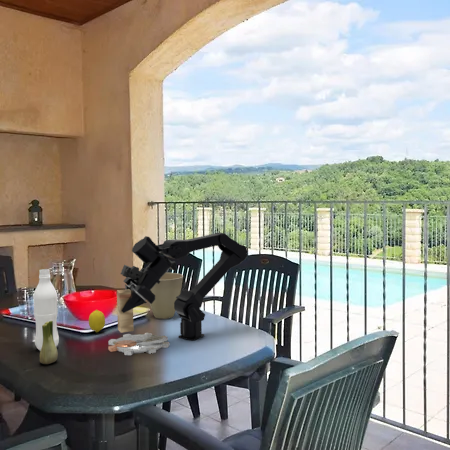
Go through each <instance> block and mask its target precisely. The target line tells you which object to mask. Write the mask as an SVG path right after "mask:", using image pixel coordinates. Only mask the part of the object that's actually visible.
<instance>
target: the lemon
mask: <svg viewBox="0 0 450 450" xmlns="http://www.w3.org/2000/svg"><path fill="white" fill-rule="evenodd" d="M88 325H89V327H90V330H92V331H94V332H95V333H99V332H100V331H101V330H103V329H104V327H105V325H106V318H105V314H104V313H103V312H102V311H100V310H98V309H95V310H93V311H92V312H91V313H90V314H89V316H88Z"/></svg>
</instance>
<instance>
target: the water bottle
mask: <svg viewBox="0 0 450 450" xmlns="http://www.w3.org/2000/svg"><path fill="white" fill-rule="evenodd" d="M38 272H39V276H38V279H39V280H38V284H37V285H36V287H35V290H34V292H33V294H32V295H33V296H32V299H33V315H34V319H35V337H34V345H35V347H36V348H37V349H38V350H39V352H40V351H41V348H42V344H43V331H42V325H44V324H45V323H46V322H49V321H53V339H54V343H55V346H56V348H57V347H58V345H59V341H60V337H59V332H58V326H57V320H58V319H57V316H58V312H59V309H58V292H57V290H56V288H55V286H54V284H53V283H52V281H51V274H50V272H51V270H50V269H49V268H44V269H43V268H41V269H39V271H38Z"/></svg>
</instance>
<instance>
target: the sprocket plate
mask: <svg viewBox="0 0 450 450" xmlns="http://www.w3.org/2000/svg"><path fill="white" fill-rule="evenodd" d="M107 347H108V348H107V349H108V351H109V352H111V353H113V352H120V353H124V356H132V355H134V354H145V353H144V352H146V353H147V354H149V355H152V354H156V353H157V350H160V349H163V348H165V349H167V348H169V347H170V341H168V336H166V335H160V336H159V335H155V334H153V333H152V332H145V333H144V334H131V333H126V334H122V337H118V338H110V339H109V340H108V346H107ZM151 353H152V354H151Z"/></svg>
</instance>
